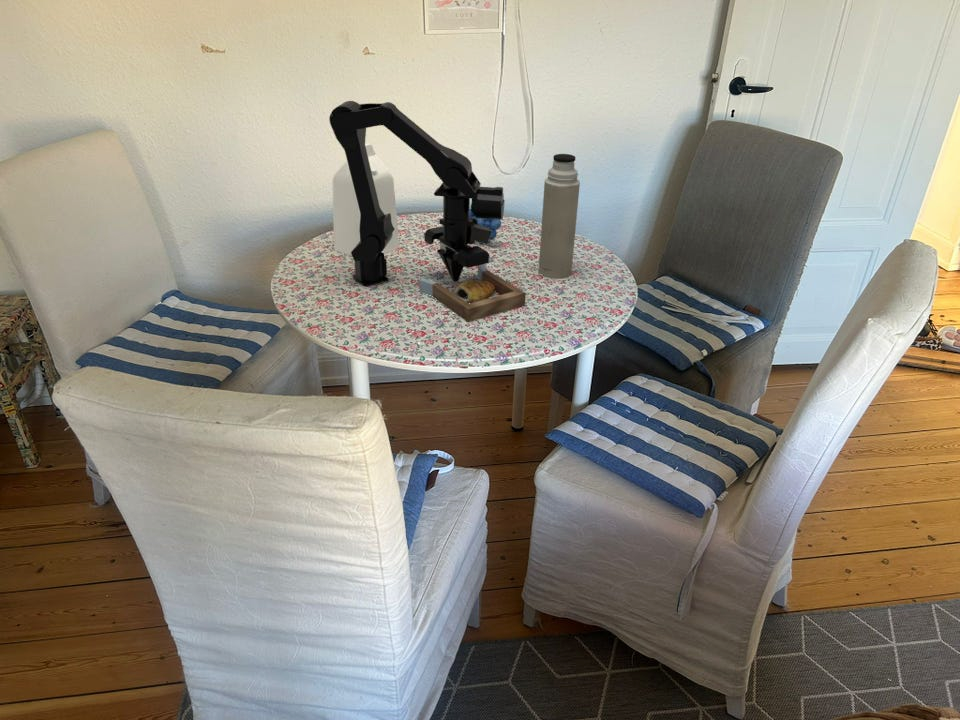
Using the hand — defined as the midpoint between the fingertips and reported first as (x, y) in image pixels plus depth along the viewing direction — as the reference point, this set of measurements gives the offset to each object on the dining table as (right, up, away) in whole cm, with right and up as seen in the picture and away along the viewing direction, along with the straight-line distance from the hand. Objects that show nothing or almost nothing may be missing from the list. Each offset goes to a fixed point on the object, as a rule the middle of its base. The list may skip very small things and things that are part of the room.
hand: (455, 281), depth 165 cm
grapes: (+6, +13, +25) cm, 29 cm away
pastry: (+4, -4, -3) cm, 7 cm away
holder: (+4, -4, -4) cm, 7 cm away
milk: (-23, +10, +20) cm, 32 cm away
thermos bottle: (+24, +3, +9) cm, 26 cm away
